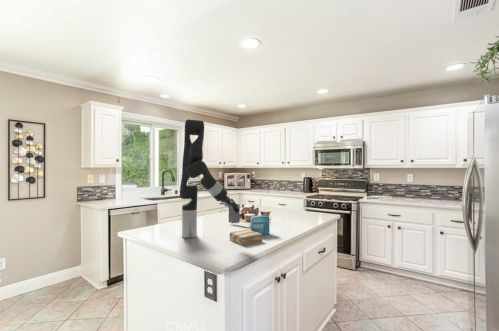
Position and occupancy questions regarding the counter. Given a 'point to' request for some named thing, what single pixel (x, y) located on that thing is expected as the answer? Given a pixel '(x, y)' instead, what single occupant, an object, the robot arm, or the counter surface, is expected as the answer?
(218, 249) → the counter surface
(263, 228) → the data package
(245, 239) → the oak block
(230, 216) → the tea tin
